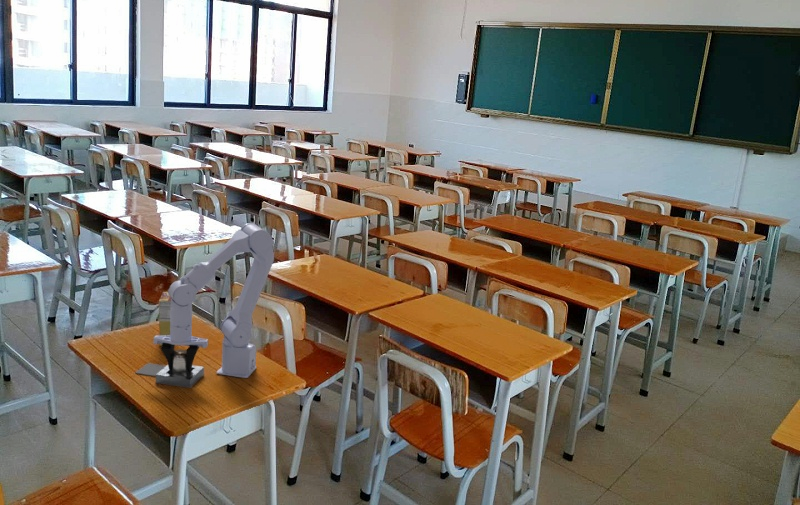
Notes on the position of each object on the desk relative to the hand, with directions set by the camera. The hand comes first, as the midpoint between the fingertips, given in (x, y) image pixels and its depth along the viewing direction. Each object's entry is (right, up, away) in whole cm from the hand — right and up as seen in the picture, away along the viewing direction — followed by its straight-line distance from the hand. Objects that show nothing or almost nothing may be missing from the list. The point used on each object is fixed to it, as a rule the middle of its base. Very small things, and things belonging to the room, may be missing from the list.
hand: (180, 368), depth 185 cm
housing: (0, -3, +1) cm, 3 cm away
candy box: (-13, +4, +26) cm, 29 cm away
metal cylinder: (0, -3, +1) cm, 3 cm away
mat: (-9, -1, +4) cm, 10 cm away
